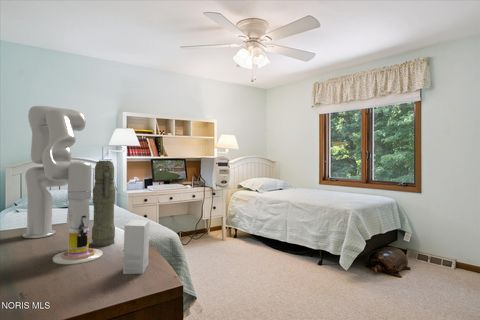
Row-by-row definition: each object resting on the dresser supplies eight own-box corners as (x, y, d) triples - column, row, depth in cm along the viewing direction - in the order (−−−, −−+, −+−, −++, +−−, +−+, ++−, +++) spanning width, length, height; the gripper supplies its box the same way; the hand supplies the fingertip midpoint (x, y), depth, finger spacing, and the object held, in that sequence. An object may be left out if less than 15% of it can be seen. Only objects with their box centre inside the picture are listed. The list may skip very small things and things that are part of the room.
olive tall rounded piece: (96, 248, 119) (98, 161, 119) (88, 242, 128) (89, 160, 127) (119, 244, 125) (120, 161, 125) (109, 238, 133) (110, 160, 133)
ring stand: (47, 256, 109) (47, 251, 109) (94, 247, 120) (94, 243, 120) (59, 267, 97) (59, 263, 97) (109, 257, 109) (109, 252, 109)
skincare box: (129, 265, 101) (130, 219, 101) (149, 265, 102) (150, 219, 102) (122, 274, 93) (123, 224, 93) (144, 274, 93) (144, 224, 93)
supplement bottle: (89, 256, 108) (90, 220, 108) (68, 259, 104) (69, 222, 104) (87, 251, 113) (87, 217, 113) (67, 253, 110) (67, 219, 110)
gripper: (60, 194, 112) (60, 241, 112) (75, 199, 100) (75, 252, 100) (82, 192, 118) (81, 237, 118) (99, 197, 105) (98, 247, 105)
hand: (78, 244), depth 109 cm, fingers closed on supplement bottle, 6 cm apart
